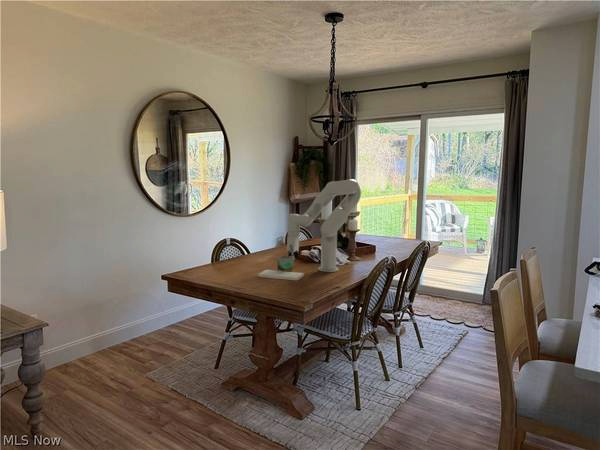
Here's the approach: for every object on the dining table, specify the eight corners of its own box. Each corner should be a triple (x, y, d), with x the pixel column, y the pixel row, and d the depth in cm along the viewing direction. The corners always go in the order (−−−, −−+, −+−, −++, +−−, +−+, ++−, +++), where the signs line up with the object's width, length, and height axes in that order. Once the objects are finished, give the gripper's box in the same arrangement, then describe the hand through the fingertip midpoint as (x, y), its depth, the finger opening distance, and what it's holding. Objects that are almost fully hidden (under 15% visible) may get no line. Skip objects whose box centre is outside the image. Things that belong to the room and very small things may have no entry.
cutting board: (266, 272, 249) (266, 269, 249) (303, 275, 241) (303, 273, 241) (258, 276, 238) (258, 274, 238) (297, 280, 230) (297, 277, 230)
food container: (281, 275, 242) (282, 259, 240) (275, 272, 247) (276, 256, 245) (297, 272, 250) (299, 256, 248) (291, 269, 255) (292, 254, 253)
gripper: (292, 231, 266) (292, 257, 269) (283, 234, 250) (282, 262, 252) (303, 232, 264) (303, 258, 266) (294, 235, 248) (294, 263, 250)
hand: (293, 260), depth 259 cm, fingers open, 9 cm apart
